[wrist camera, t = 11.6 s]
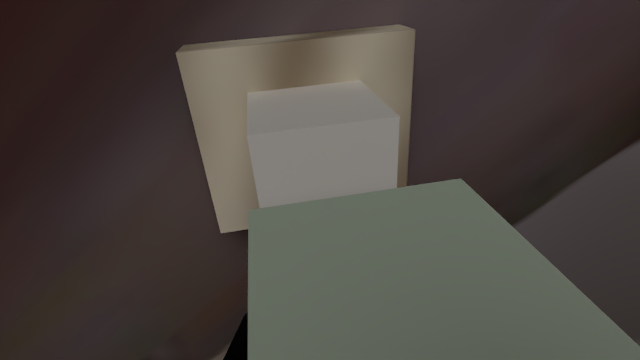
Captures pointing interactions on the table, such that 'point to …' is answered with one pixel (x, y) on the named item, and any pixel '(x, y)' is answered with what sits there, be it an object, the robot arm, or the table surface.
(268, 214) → the sage block
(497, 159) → the table surface
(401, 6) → the table surface
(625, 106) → the table surface
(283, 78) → the slab
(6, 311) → the table surface
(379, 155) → the white block
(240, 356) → the robot arm
